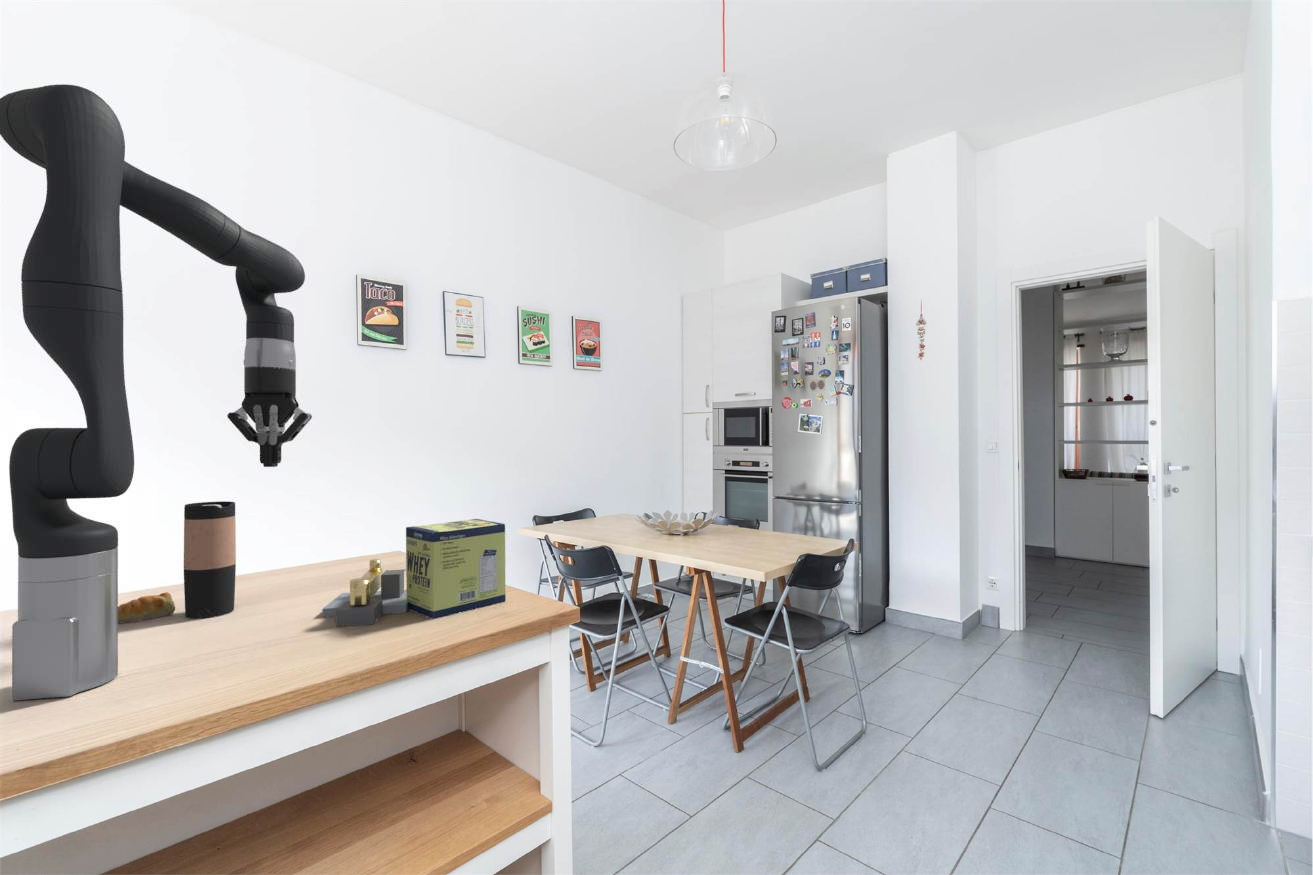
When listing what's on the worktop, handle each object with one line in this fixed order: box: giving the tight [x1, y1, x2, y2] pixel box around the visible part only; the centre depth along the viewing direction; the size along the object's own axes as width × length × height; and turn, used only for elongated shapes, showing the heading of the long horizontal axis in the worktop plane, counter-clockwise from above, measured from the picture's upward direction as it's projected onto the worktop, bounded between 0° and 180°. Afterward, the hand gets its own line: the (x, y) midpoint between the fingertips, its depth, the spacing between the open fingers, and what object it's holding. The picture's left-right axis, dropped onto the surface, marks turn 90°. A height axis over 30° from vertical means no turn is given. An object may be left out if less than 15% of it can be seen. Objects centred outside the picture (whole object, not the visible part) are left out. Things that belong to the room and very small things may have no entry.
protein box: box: [405, 518, 507, 620], centre depth 114 cm, size 10×16×16 cm
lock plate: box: [322, 569, 410, 627], centre depth 110 cm, size 17×14×6 cm
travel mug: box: [183, 500, 237, 620], centre depth 108 cm, size 8×8×20 cm
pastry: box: [118, 592, 176, 624], centre depth 106 cm, size 9×7×4 cm
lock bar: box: [349, 558, 384, 606], centre depth 110 cm, size 15×3×5 cm, turn 14°
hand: (270, 466), depth 103 cm, fingers closed
